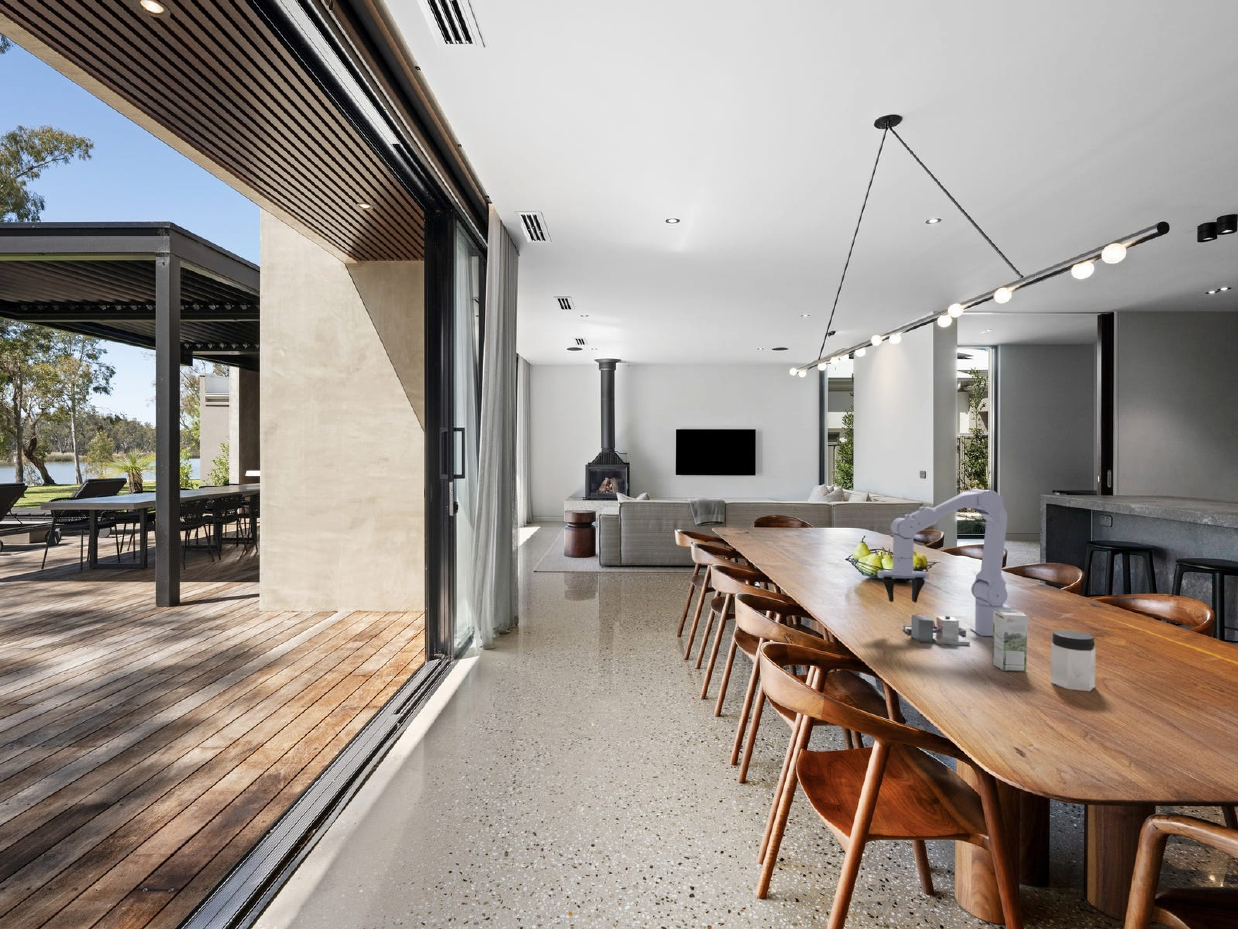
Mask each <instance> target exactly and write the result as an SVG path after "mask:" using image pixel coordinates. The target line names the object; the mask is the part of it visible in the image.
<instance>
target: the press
mask: <svg viewBox="0 0 1238 929" xmlns="http://www.w3.org/2000/svg"><path fill="white" fill-rule="evenodd" d="M905 627H912V629H908V630H907V632H906V631H905ZM902 628H903V631H904V632H906V633H908V634H907V635H911V638H912V637H913V639H914V640H915V641H916V640H917V641H918V643H919V642H924V643H925V642H926V643H925V644H933V643H934V644H935V643H936V645H937V644H951V645H950V646H966V645H970V646H971V642H970V641H969V640H967V639H966V638H965V637H964V636H966V635H967V630H966V629H964V628H962V627H960V626H959V640H954V639H942V638H940V637H939V636H937V635H936V628H937V625H936V623H935V621H934V620H933V619H931V618H930V617H929V616H928V615H924V614H922V615H915V614H914V615H913V614H912V615H911V625H906V624H905V625H903V626H902ZM917 641H916V642H917Z"/></svg>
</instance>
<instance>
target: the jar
mask: <svg viewBox="0 0 1238 929" xmlns="http://www.w3.org/2000/svg"><path fill="white" fill-rule="evenodd" d="M1095 644H1096V643H1095V637H1094V636H1093V635H1092V634H1088V633H1087V632H1081V631H1075V630H1066V629H1059V630H1058V629H1057V630H1054V631H1052V643H1051V645H1050V683H1051V684H1053V685H1055V684H1056V686H1059V687H1061V688H1062V689H1066V690H1069V691H1070V690H1071V691H1080V692H1091V691H1092V690H1093V689H1094V688H1096V647H1095Z"/></svg>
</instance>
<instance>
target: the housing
mask: <svg viewBox="0 0 1238 929" xmlns="http://www.w3.org/2000/svg"><path fill="white" fill-rule="evenodd" d="M936 626H937V628H936V635H937V636H939V637H940V638H942V639H954V640H959V627H960V620H958V619H957V618H955V617H953V616H949V615H945V616H936Z"/></svg>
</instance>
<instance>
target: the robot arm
mask: <svg viewBox="0 0 1238 929" xmlns="http://www.w3.org/2000/svg"><path fill="white" fill-rule="evenodd" d="M1003 501H1004V498H1003V497H1002V496H1001V495H1000V494H999V493H997V492H996V491H995V490H993V489H992V490H991V489H978V488H970V489H969V490H967V491H962V492H960V493H959V494H957V495H955V496H954V497H952V498H949V499H947V500H946V501H944V502H941V503H940V504H938V505H936V506H934V507H930V506H920V507H918V510H916V511H913V512H912V513H910V514H909V513H906V514H904V517H897V518H895V519H893V521H892V522H891V525H890V526H889V530H890V532H891V533H892V535H893V540H892V541H893V542H892V570H891V569H889V570H877V578H879V579H881V580H882V582H883V584H884V587H885V589H886V592H887V596H888V601H889V602H891V603H893V602H894V589H895V588H894V586H895V580H894V579H910V582H911V602H913V603H915V604H916V603H917V602H918V598H919V595H920V592H921V590H922V588H923V586H925V582H926V580H929V578H930V572H928V571H919V570H914V537H915V536H916V535H917V533H918V532H920V531H922V530H925V529H927V528H929V527H932V526H934V525H935V524H937V523H938V521H939V519H940V518H941V517H944V516H946V515H949V514H951V513H954V512H955V511H958V510H961V509H965V508H967V509H972V510H973V511H975V512H977V513H978V514H980V516H981V517H983V519H984V520H985V521H986V522H985V532H984V540H983V548H982V557H981V567H980V571H979V572H978V573H977V574H976V575H975V580H974V582H973V583H972V585H971V590H970V591H971V594H972V596H973V597H974V598H975V604H974V605H975V610H974V611H975V612H974V613H975V615H974V618H975V620H974V621H975V622H974V623H975V624H974V626H975V627H973V626H972V627H971V626H970V627H969V630H971V631H972V632H974V633H976V634H978V635H979V636H982V637H983V636H985V637H993V612H994V610H1012V608H1011V607H1010V606H1009V605H1008V604H1005V603H1006V601H1007V600H1008V597H1009V596H1008V590H1007V589H1006V585H1007V584H1006V583H1007V582H1006V580H1005V579H1004V577H1003V575H1002V568H1003V562H1004V561H1003V560H1004V551H1005V544H1006V536H1007V535H1006V534H1007V528H1008V527H1007V526H1008V514H1007V511H1006V508H1005V506H1004V502H1003Z"/></svg>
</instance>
